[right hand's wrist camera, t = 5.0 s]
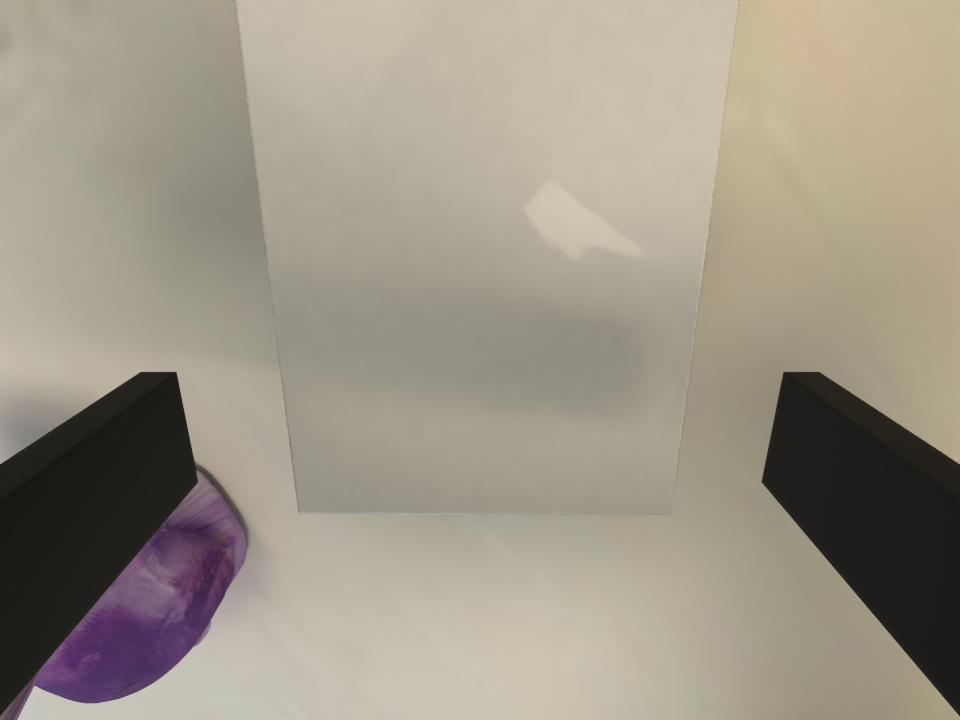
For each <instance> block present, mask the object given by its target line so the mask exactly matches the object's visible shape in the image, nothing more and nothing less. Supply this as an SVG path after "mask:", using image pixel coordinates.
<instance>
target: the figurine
mask: <svg viewBox="0 0 960 720" xmlns="http://www.w3.org/2000/svg"><path fill="white" fill-rule="evenodd" d="M196 473H197V478H198V483H197V484H196V485H195V487H194V488H193V489H192V490H191V491H190V493H189V494H188V495H187V496H186V497H185V498H184V500H183V501H182V502H181V503H180V504H179V506H178V507H177V508H176V509H175V510H174V511H173V513H172V514H171V515H170V516H169V517H168V519H167V520H166V521H165V522H164V523H163V524H162V526H161V527H160V528H159V529H158V530H157V532H156V533H155V534H154V535H153V536H152V537H151V539H150V540H149V541H148V542H147V543H146V545H145V546H144V547H143V548H142V549H141V550H140V552H139V553H138V554H137V555H136V556H135V558H134V559H133V560H132V561H131V562H130V563H129V565H128V566H127V567H126V568H125V569H124V571H123V572H122V573H121V574H120V575H119V576H118V578H117V579H116V580H115V581H114V582H113V584H112V585H111V586H110V587H109V588H108V589H107V591H106V592H105V593H104V594H103V595H102V597H101V598H100V599H99V600H98V601H97V602H96V604H95V605H94V606H93V607H92V608H91V610H90V611H89V612H88V613H87V614H86V615H85V617H84V618H83V619H82V620H81V621H80V623H79V624H78V625H77V626H76V627H75V628H74V630H73V631H72V632H71V633H70V634H69V636H68V637H67V638H66V639H65V640H64V641H63V643H62V644H61V645H60V646H59V647H58V649H57V650H56V651H55V652H54V653H53V654H52V656H51V657H50V658H49V659H48V660H47V662H46V663H45V664H44V665H43V666H42V667H41V669H40V670H39V671H38V672H37V673H36V675H35V676H34V677H33V678H32V679H31V680H30V682H29V683H28V684H27V685H26V686H25V688H24V689H23V690H22V691H21V692H20V693H19V695H18V696H17V697H16V698H15V699H14V701H13V702H12V703H11V704H10V705H9V706H8V708H7V709H6V710H5V711H4V712H3V714H2V715H1V716H0V720H17V719H18V717H19V715H20V713H21V711H22V709H23V707H24V705H25V703H26V701H27V699H28V697H29V695H30V693H31V691H32V689H33V687H34V685H35V686H37V687H39V688H41V689H43V690H45V691H47V692H50V693H53V694H55V695H58V696H61V697H63V698H66V699H69V700H72V701H76V702H81V703H100V702H106V701H111V700H115V699H119V698H122V697H125V696H128V695H130V694H133V693H135V692H137V691H140V690H142V689H143V688H145V687H147V686H149V685H151V684H152V683H154V682H155V681H157V680H158V679H160V678H161V677H162V676H164V675H165V674H166V673H167V672H168V671H170V670H171V669H172V668H173V667H174V666H175V665H176V664H178V663H179V662H180V661H181V660H182V659H183V658H184V656H185V655H186V654H187V653H188V652H189V651H190V650H191V649H192V648H193V647H194V646H196V645H198V644H199V643H200V642H201V641H202V640H203V639H204V637H205V636H206V635H207V633H208V631H209V629H210V626H211V619H212V617H213V615H214V613H215V611H216V610H217V608H218V606H219V605H220V603H221V601H222V599H223V598H224V595H225V593H226V590H227V588H228V587H229V585H230V584H231V582H232V581H233V579H234V578H235V576H236V575H237V573H238V571H239V570H240V568H241V567H242V565H243V564H244V560H245V557H246V550H247V543H246V535H245V531H244V528H243V526H242V525H241V524H240V522H239V521H238V519H237V518H236V516H235V514H234V513H233V511H232V510H231V508H230V507H229V505H228V504H227V502H226V501H225V499H224V498H223V496H222V495H221V493H220V492H219V491H218V489H217V488H216V487H215V486H214V485H213V484H212V483H211V482H210V481H209V480H208V478H207V477H206V475H205V473H202V472H200V471H198V470H196Z"/></svg>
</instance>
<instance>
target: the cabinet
mask: <svg viewBox="0 0 960 720" xmlns="http://www.w3.org/2000/svg"><path fill="white" fill-rule="evenodd" d="M234 3H235V11H236V19H237V27H238V35H239V43H240V51H241V59H242V67H243V75H244V83H245V91H246V98H247V106H248V114H249V122H250V130H251V138H252V146H253V154H254V162H255V170H256V178H257V186H258V194H259V202H260V210H261V218H262V226H263V234H264V242H265V250H266V258H267V266H268V274H269V282H270V290H271V298H272V306H273V314H274V322H275V330H276V338H277V346H278V354H279V362H280V370H281V378H282V385H283V393H284V401H285V409H286V417H287V425H288V433H289V441H290V449H291V457H292V465H293V473H294V481H295V489H296V497H297V505H298V512H299V513H300V514H631V515H669V514H671V511H672V504H673V497H674V489H675V481H676V474H677V466H678V459H679V451H680V444H681V436H682V429H683V421H684V413H685V406H686V398H687V391H688V383H689V376H690V368H691V360H692V353H693V345H694V338H695V330H696V323H697V315H698V308H699V300H700V292H701V285H702V277H703V270H704V262H705V255H706V247H707V240H708V232H709V224H710V217H711V209H712V202H713V194H714V187H715V179H716V172H717V164H718V156H719V149H720V141H721V134H722V126H723V119H724V111H725V104H726V96H727V88H728V81H729V73H730V66H731V58H732V51H733V43H734V36H735V28H736V20H737V13H738V5H739V0H234Z"/></svg>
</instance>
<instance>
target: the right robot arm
mask: <svg viewBox="0 0 960 720" xmlns="http://www.w3.org/2000/svg"><path fill="white" fill-rule="evenodd" d="M197 483H198V478H197V473H196V468H195V463H194V458H193V453H192V448H191V443H190V438H189V433H188V428H187V423H186V418H185V413H184V408H183V403H182V398H181V393H180V388H179V383H178V378H177V373H176V372H140V373H139V374H137V375H136V376H134V377H133V378H131V379H130V380H128V381H126V382H125V383H123V384H122V385H120V386H119V387H117V388H116V389H114V390H113V391H111V392H110V393H108V394H107V395H105V396H104V397H102V398H101V399H99V400H98V401H96V402H95V403H93V404H91V405H90V406H88V407H87V408H85V409H84V410H82V411H81V412H79V413H78V414H76V415H75V416H73V417H72V418H70V419H69V420H67V421H66V422H64V423H63V424H61V425H60V426H58V427H56V428H55V429H53V430H52V431H50V432H49V433H47V434H46V435H44V436H43V437H41V438H40V439H38V440H37V441H35V442H34V443H32V444H31V445H29V446H28V447H26V448H24V449H23V450H21V451H20V452H18V453H17V454H15V455H14V456H12V457H11V458H9V459H8V460H6V461H5V462H3V463H2V464H0V716H1V715H2V714H3V712H4V711H5V710H6V709H7V708H8V706H9V705H10V704H11V703H12V702H13V701H14V699H15V698H16V697H17V696H18V695H19V693H20V692H21V691H22V690H23V689H24V688H25V686H26V685H27V684H28V683H29V682H30V680H31V679H32V678H33V677H34V676H35V675H36V673H37V672H38V671H39V670H40V669H41V667H42V666H43V665H44V664H45V663H46V662H47V660H48V659H49V658H50V657H51V656H52V654H53V653H54V652H55V651H56V650H57V649H58V647H59V646H60V645H61V644H62V643H63V641H64V640H65V639H66V638H67V637H68V636H69V634H70V633H71V632H72V631H73V630H74V628H75V627H76V626H77V625H78V624H79V623H80V621H81V620H82V619H83V618H84V617H85V615H86V614H87V613H88V612H89V611H90V610H91V608H92V607H93V606H94V605H95V604H96V602H97V601H98V600H99V599H100V598H101V597H102V595H103V594H104V593H105V592H106V591H107V589H108V588H109V587H110V586H111V585H112V584H113V582H114V581H115V580H116V579H117V578H118V576H119V575H120V574H121V573H122V572H123V571H124V569H125V568H126V567H127V566H128V565H129V563H130V562H131V561H132V560H133V559H134V558H135V556H136V555H137V554H138V553H139V552H140V550H141V549H142V548H143V547H144V546H145V545H146V543H147V542H148V541H149V540H150V539H151V537H152V536H153V535H154V534H155V533H156V532H157V530H158V529H159V528H160V527H161V526H162V524H163V523H164V522H165V521H166V520H167V519H168V517H169V516H170V515H171V514H172V513H173V511H174V510H175V509H176V508H177V507H178V506H179V504H180V503H181V502H182V501H183V500H184V498H185V497H186V496H187V495H188V494H189V493H190V491H191V490H192V489H193V488H194V487H195V485H196V484H197ZM762 483H763V484H764V485H765V487H766V488H767V489H768V490H769V491H770V493H771V494H772V495H773V496H774V497H775V498H776V500H777V501H778V502H779V503H780V504H781V506H782V507H783V508H784V509H785V510H786V511H787V513H788V514H789V515H790V516H791V517H792V519H793V520H794V521H795V522H796V523H797V524H798V526H799V527H800V528H801V529H802V530H803V532H804V533H805V534H806V535H807V536H808V537H809V539H810V540H811V541H812V542H813V543H814V545H815V546H816V547H817V548H818V549H819V550H820V552H821V553H822V554H823V555H824V556H825V558H826V559H827V560H828V561H829V562H830V563H831V565H832V566H833V567H834V568H835V569H836V571H837V572H838V573H839V574H840V575H841V576H842V578H843V579H844V580H845V581H846V582H847V584H848V585H849V586H850V587H851V588H852V589H853V591H854V592H855V593H856V594H857V595H858V597H859V598H860V599H861V600H862V601H863V602H864V604H865V605H866V606H867V607H868V608H869V610H870V611H871V612H872V613H873V614H874V615H875V617H876V618H877V619H878V620H879V621H880V623H881V624H882V625H883V626H884V627H885V628H886V630H887V631H888V632H889V633H890V634H891V636H892V637H893V638H894V639H895V640H896V641H897V643H898V644H899V645H900V646H901V647H902V649H903V650H904V651H905V652H906V653H907V654H908V656H909V657H910V658H911V659H912V660H913V662H914V663H915V664H916V665H917V666H918V667H919V669H920V670H921V671H922V672H923V673H924V675H925V676H926V677H927V678H928V679H929V680H930V682H931V683H932V684H933V685H934V686H935V688H936V689H937V690H938V691H939V692H940V693H941V695H942V696H943V697H944V698H945V699H946V701H947V702H948V703H949V704H950V705H951V706H952V708H953V709H954V710H955V711H956V712H957V714H958V715H959V716H960V464H958V463H957V462H955V461H954V460H952V459H951V458H949V457H948V456H946V455H945V454H943V453H942V452H940V451H939V450H937V449H936V448H934V447H932V446H931V445H929V444H928V443H926V442H925V441H923V440H922V439H920V438H919V437H917V436H916V435H914V434H913V433H911V432H910V431H908V430H907V429H905V428H904V427H902V426H900V425H899V424H897V423H896V422H894V421H893V420H891V419H890V418H888V417H887V416H885V415H884V414H882V413H881V412H879V411H878V410H876V409H875V408H873V407H872V406H870V405H869V404H867V403H865V402H864V401H862V400H861V399H859V398H858V397H856V396H855V395H853V394H852V393H850V392H849V391H847V390H846V389H844V388H843V387H841V386H840V385H838V384H837V383H835V382H834V381H832V380H830V379H829V378H827V377H826V376H824V375H823V374H821V373H820V372H784V373H783V378H782V383H781V388H780V393H779V398H778V403H777V408H776V413H775V418H774V423H773V428H772V433H771V438H770V443H769V448H768V453H767V458H766V463H765V468H764V473H763V478H762Z"/></svg>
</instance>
